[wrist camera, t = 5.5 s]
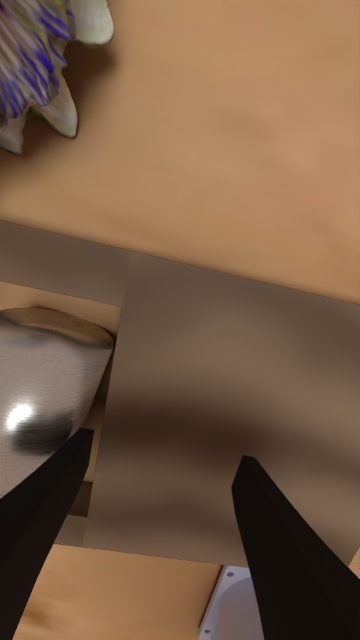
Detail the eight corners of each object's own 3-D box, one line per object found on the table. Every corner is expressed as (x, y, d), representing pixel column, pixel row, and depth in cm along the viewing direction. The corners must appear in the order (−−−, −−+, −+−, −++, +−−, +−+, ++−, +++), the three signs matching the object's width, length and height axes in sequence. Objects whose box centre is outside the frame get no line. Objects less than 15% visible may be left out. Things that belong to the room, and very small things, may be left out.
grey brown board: (320, 542, 16) (340, 579, 14) (-63, 489, 14) (-100, 524, 12) (434, 323, 12) (482, 333, 10) (-76, 203, 10) (-135, 188, 8)
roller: (74, 461, 15) (33, 560, 10) (-6, 444, 14) (-95, 545, 9) (121, 331, 12) (99, 376, 8) (31, 300, 11) (-60, 329, 7)
